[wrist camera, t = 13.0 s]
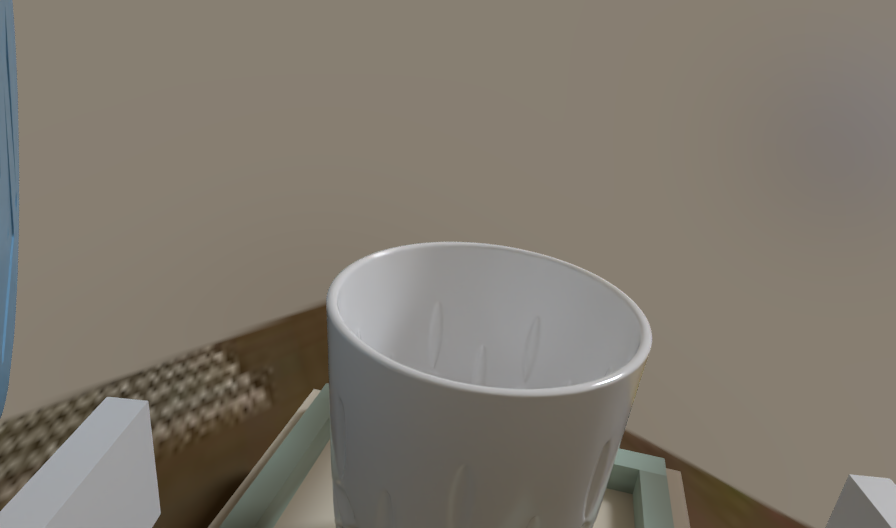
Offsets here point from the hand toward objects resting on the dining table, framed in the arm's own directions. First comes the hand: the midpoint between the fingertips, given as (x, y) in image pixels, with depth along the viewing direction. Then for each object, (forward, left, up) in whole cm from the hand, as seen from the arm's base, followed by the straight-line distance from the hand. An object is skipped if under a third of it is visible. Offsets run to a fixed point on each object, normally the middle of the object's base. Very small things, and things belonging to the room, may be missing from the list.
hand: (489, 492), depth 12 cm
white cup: (-1, +4, -8) cm, 9 cm away
